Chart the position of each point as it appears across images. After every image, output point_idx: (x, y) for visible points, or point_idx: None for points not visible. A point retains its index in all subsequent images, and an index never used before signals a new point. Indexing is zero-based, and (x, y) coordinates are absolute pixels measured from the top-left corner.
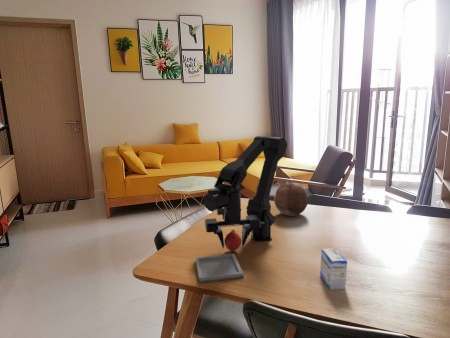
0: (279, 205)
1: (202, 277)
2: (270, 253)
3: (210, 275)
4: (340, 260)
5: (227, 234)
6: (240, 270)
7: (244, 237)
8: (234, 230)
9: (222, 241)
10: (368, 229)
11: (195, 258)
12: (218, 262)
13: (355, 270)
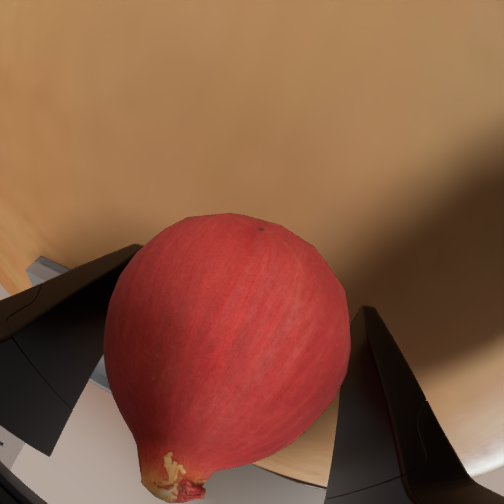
0: None
1: (91, 381)
2: (470, 373)
3: (110, 390)
4: None
5: (109, 366)
6: None
7: (334, 460)
8: (197, 496)
9: (93, 349)
10: None
11: (29, 273)
12: None
13: (496, 451)
